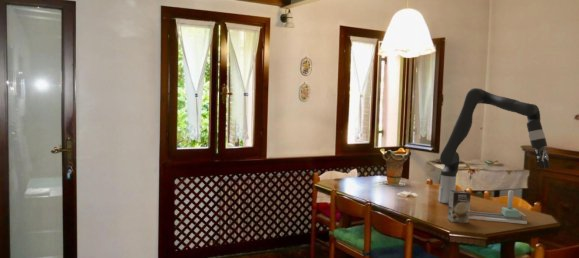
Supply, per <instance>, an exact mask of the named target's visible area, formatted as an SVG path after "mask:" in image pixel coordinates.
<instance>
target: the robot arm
mask: <svg viewBox="0 0 579 258" xmlns="http://www.w3.org/2000/svg"><path fill="white" fill-rule="evenodd" d="M478 104H479V105H480V104H484V105H491V106H494V107H496V108H499V109H501V110H504V111H508V112H511V113H516V114H519V115H521V116H525V117H526V118H527V119H526V120H527V121H526V128H527V132H528V138H529V142H530V145H531V146H530V147H531V149H533V153H534V156H535V160H536V162H537V163H538V165H539V169H540V170H543V169H549V168H551V166H550V162H549V160H550V157H549V153H548V149H547V148H545V147H547V146H548V144H547V143H548V142H547V139H546V135H545V133H544V130H543V126H542V123H541V112H540V108H539V107H538V106H537V105H536V104H534V103H529V102H528V103H527V102H524V101H520V100H518V99H513V98H509V97H505V96H500V95H498V94H497V95H496V94H493V93H490V92H488V91H487V90H484V89H482V88H477V87H476V88H475V87H473V88H471V89H469V90H468V91H467V93H466V95H465V98H464V101H463V105H462V107H461V110H460V112H459V115H458V116H457V119H456V121H455V124H454V125H453V129H452V130H451V133H450V135H449V138H448V140H447V142H446V144H445V146H444V148H443V149H442V151H441V153H440V156H439V160H440V163H441V164H442V165H444V167H443V169H441V171H440V183H439V187H438V198H437V199H438V200H437V201H438V202H439V203H442V204H448V205H449V196H450V190H456V187H457V186H456V183H457V174H458V171H459V166H460V165H459V164H460V155H459V153H458V152H457V150H458V148H459V146H460V145H461V144H462V142H463V141H465V139H466V138H467V136H468V135H469V132H470V131H471V128H472V125H473V116H474V112H475V109H476V107H477V106H478Z"/></svg>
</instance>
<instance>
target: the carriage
mask: <svg viewBox="0 0 579 258" xmlns="http://www.w3.org/2000/svg"><path fill="white" fill-rule="evenodd" d="M513 201H514V190H508V193H507V202H506V205H507V206H506V207H505V206H504V207H501V212H500V214H503V215H504V216H505V217H516V218H519V210H518V209H517V208H514V207H513V204H514V202H513Z"/></svg>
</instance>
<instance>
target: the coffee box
mask: <svg viewBox="0 0 579 258" xmlns="http://www.w3.org/2000/svg"><path fill="white" fill-rule="evenodd" d="M471 194H472V193H470V192H469V191H467V190H456V189H455V190H450V196H449V204H448V209H447V217H446V220H449V221H450V222H451V223H463V224H464V223H466V224H467V223H468V224H469V220H470V219H469V209H470V206H471Z"/></svg>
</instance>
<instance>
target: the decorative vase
mask: <svg viewBox="0 0 579 258" xmlns="http://www.w3.org/2000/svg"><path fill="white" fill-rule="evenodd" d="M379 152H380V153H381V157H382V159H383V160H384V161H385V162H386V175H385V177H386V180H382V181H381V183H382V184H384V185H390V186H397V187H401V186H406V184H405V183H404V182H402V181H401V179H402V175H403V169H404V168H403V166H404V163H405V162H406V161H407V160H408V158H409V156H410V152H411V150H410V149H409V148H406V149H404V147H400V148H398V150H395V151H392V150H391V149H388V150H387V151H385V148H381V149H380V150H379Z"/></svg>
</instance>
